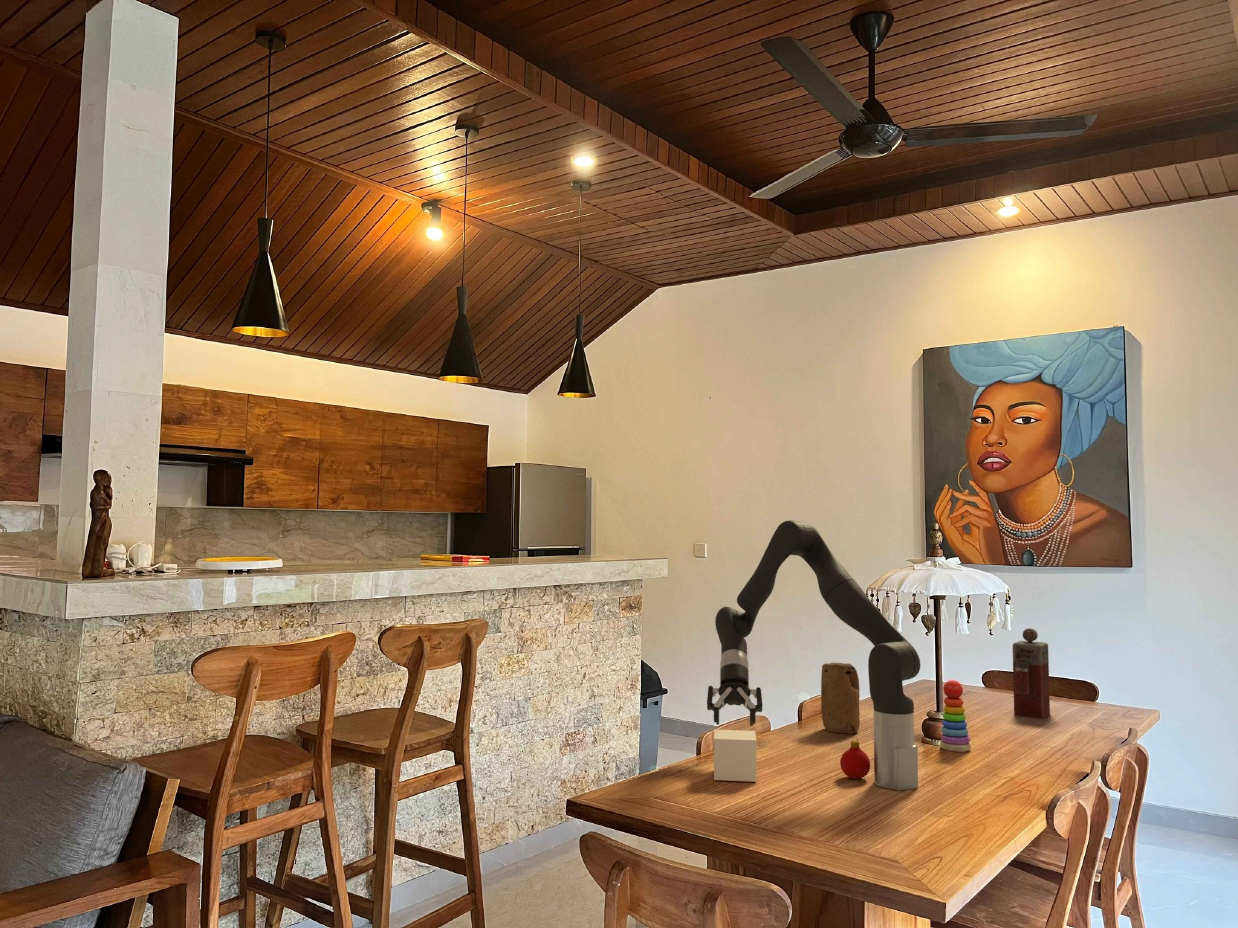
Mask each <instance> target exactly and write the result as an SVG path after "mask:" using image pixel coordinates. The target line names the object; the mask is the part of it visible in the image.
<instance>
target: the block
mask: <svg viewBox="0 0 1238 928" xmlns="http://www.w3.org/2000/svg"><path fill="white" fill-rule="evenodd" d="M821 667H822V668H821V674H820V676H821V679H820V693H821V694H820V706H821V707H820V708H821V709H820V710H821V711H820V712H821V720H822V725H823V728H824V729H825V730H826V731H828V732H830V733H836V734H849V735H850V734H851V735H852V734H855V733H857V732H859V730H860V724H861V719H860V711H861V710H860V680H859V676H858V672H857V669H856V667H855V666H853V665H852V663H849V662H848V663H845V662H844V663H843V662H829V663H823V664H822V665H821Z"/></svg>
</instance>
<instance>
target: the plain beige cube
mask: <svg viewBox="0 0 1238 928" xmlns="http://www.w3.org/2000/svg"><path fill="white" fill-rule="evenodd" d="M713 737H714V738H713V743H714V744H713V747H714V748H713V759H714V760H713V779H714V781H726V782H727V781H729V782H730V781H731V782H732V781H733V782H750V783H751V782H757V778H758V777H757V771H758V770H757V768H758V767H757V765H758V763H757V755H758V754H757V734H756V730H741V729H740V730H736V729H735V730H734V729H714V735H713Z"/></svg>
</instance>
